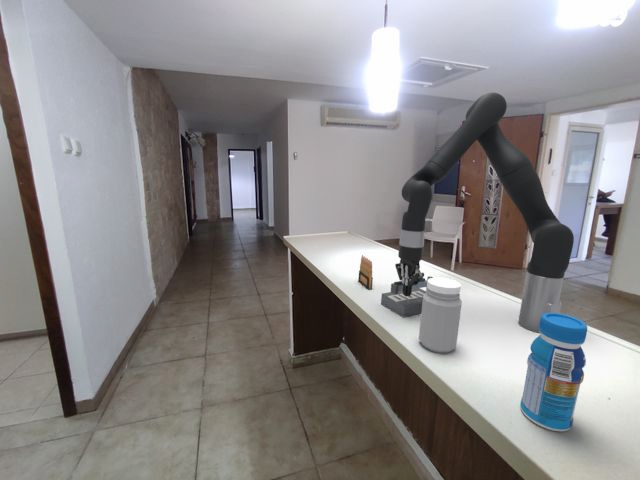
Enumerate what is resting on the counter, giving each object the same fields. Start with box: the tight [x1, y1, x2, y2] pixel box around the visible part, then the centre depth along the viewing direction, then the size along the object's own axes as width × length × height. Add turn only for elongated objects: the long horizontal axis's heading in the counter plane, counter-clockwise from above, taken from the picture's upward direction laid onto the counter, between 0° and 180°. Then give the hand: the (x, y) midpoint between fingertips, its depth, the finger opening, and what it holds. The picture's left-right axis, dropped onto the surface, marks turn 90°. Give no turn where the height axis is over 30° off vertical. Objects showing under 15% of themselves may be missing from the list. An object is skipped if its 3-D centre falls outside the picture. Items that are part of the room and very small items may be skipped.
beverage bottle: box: [519, 313, 588, 432], centre depth 58 cm, size 8×8×20 cm
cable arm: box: [390, 277, 427, 294], centre depth 108 cm, size 2×15×4 cm, turn 116°
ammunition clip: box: [357, 255, 374, 291], centre depth 130 cm, size 11×2×12 cm, turn 15°
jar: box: [418, 276, 463, 354], centre depth 83 cm, size 10×10×18 cm
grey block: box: [380, 275, 434, 319], centre depth 109 cm, size 12×18×10 cm
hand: (406, 295), depth 103 cm, fingers closed
